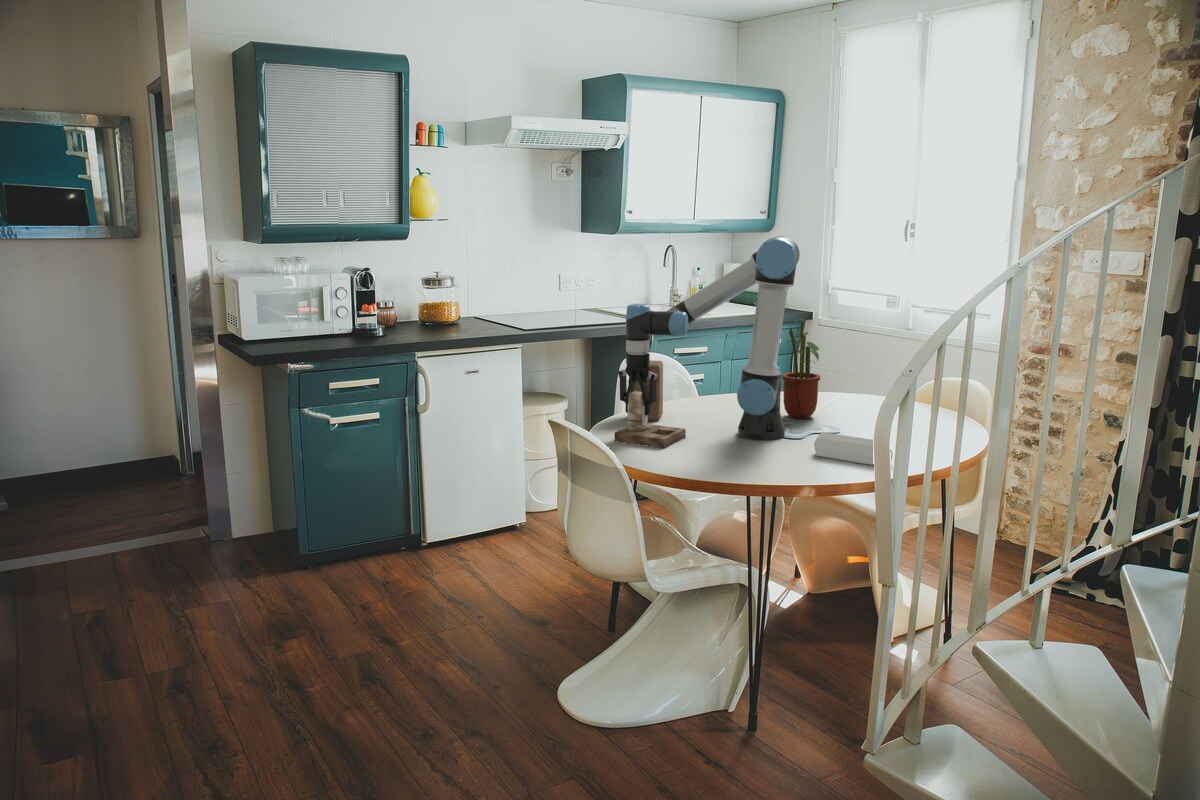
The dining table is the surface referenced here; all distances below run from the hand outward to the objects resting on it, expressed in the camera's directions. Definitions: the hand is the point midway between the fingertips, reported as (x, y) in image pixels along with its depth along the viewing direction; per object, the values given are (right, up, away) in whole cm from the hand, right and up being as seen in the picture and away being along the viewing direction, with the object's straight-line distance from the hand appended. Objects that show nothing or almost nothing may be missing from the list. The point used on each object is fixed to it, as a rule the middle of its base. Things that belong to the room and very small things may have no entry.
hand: (637, 423), depth 302 cm
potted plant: (+58, +2, +30) cm, 65 cm away
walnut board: (+4, -5, -1) cm, 7 cm away
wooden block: (+4, +1, +28) cm, 28 cm away
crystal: (+63, -10, -26) cm, 69 cm away
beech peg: (0, -2, 0) cm, 2 cm away
